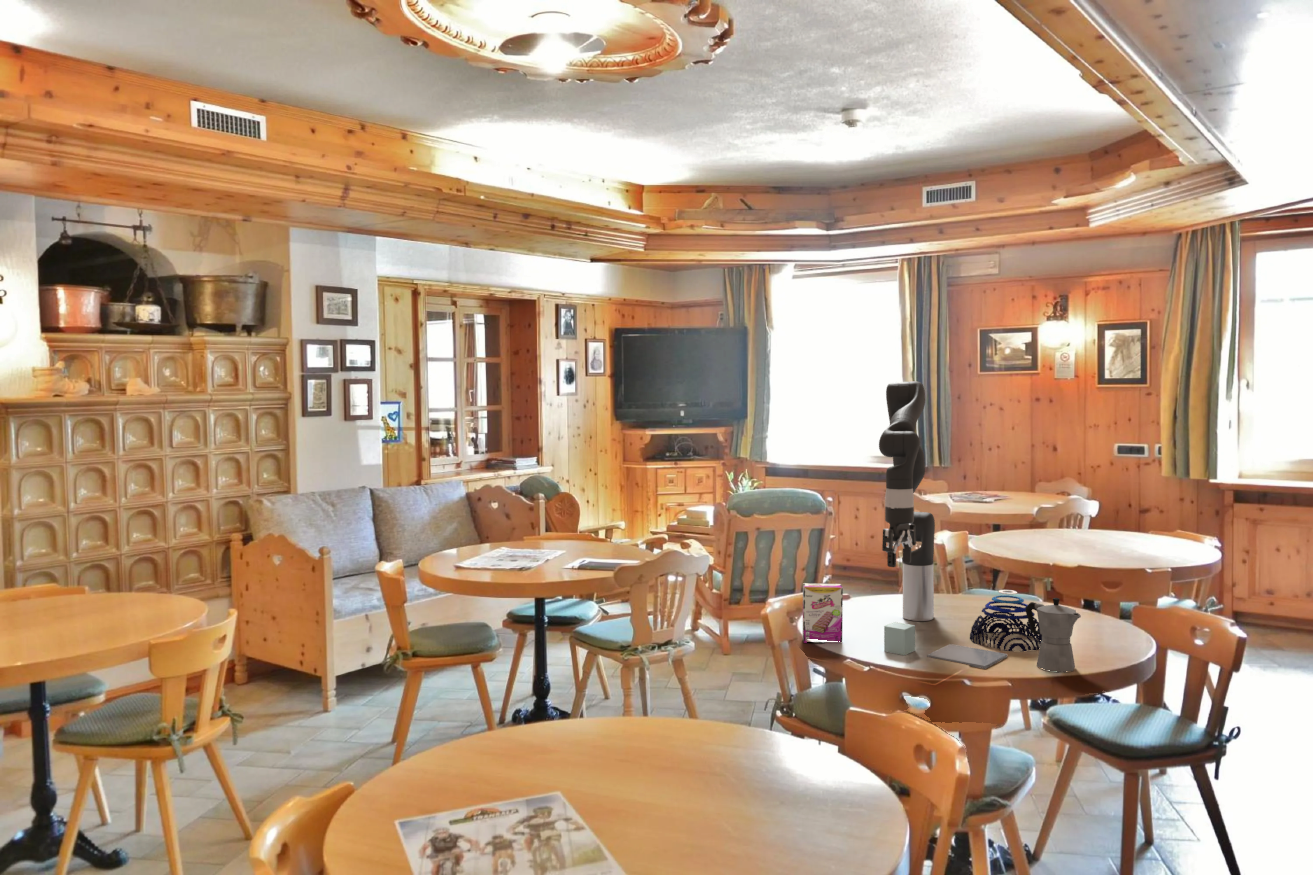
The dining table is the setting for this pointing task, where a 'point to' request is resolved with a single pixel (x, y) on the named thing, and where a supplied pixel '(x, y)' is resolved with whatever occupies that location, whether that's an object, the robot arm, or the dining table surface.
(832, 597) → the candy bar box
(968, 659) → the slate plate
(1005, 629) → the decorative bowl
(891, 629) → the pale green block
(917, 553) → the robot arm
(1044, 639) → the coffeepot
